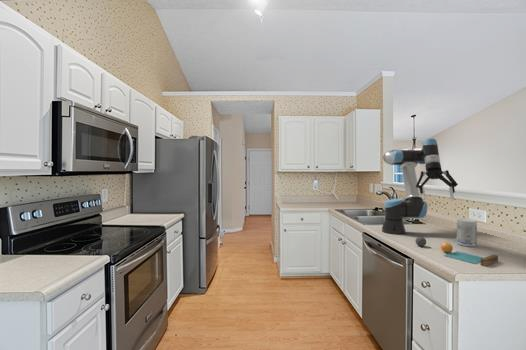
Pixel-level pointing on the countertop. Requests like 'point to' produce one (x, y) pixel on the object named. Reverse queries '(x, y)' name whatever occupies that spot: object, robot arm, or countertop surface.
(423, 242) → the gray ball
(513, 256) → the countertop surface
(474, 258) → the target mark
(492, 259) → the wall
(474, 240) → the supplement tub
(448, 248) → the object ball
